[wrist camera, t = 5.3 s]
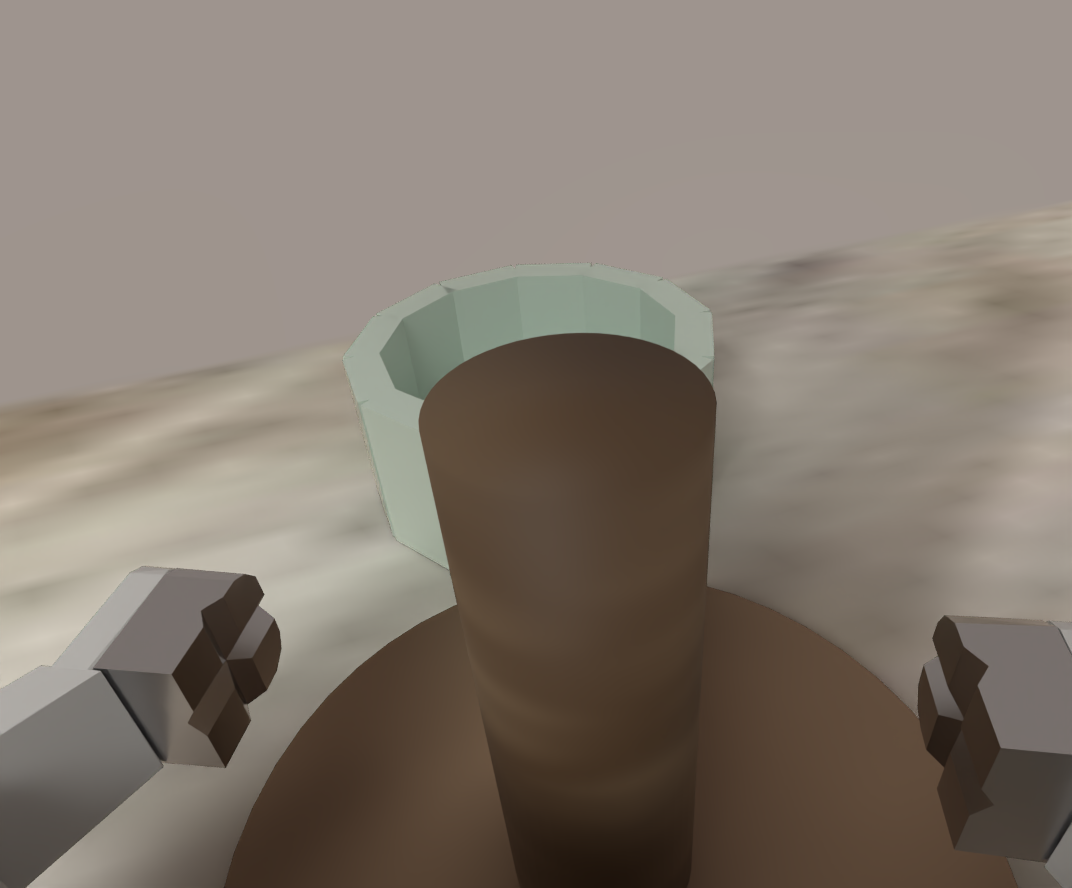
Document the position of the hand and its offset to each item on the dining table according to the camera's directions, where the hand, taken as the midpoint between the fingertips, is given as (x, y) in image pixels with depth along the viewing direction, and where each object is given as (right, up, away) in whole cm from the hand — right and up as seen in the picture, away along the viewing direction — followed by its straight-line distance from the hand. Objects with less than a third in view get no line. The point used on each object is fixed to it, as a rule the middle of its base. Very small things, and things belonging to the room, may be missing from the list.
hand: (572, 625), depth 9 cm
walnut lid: (+1, -6, +4) cm, 7 cm away
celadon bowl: (0, +2, +14) cm, 14 cm away
